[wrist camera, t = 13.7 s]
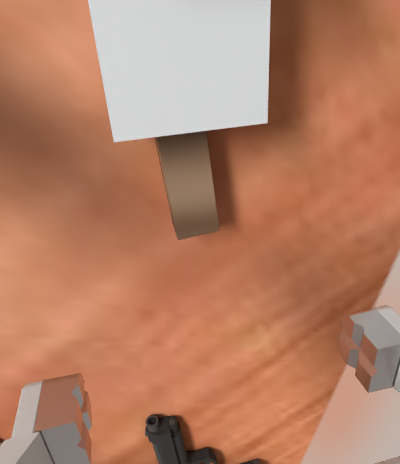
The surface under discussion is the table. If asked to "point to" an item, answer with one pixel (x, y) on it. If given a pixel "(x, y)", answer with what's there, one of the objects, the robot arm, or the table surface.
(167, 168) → the walnut bar
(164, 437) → the handgun
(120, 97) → the tunnel block
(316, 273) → the table surface
